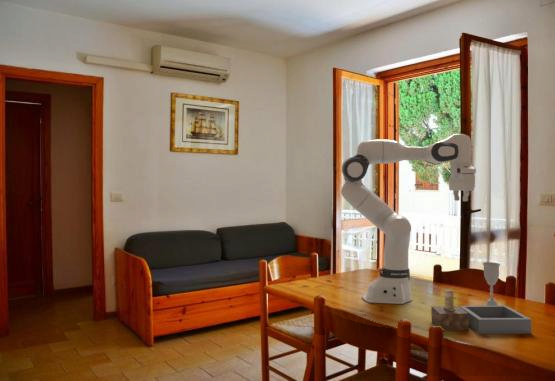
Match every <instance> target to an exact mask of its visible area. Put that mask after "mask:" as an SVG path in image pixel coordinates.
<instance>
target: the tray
mask: <svg viewBox="0 0 555 381" xmlns="http://www.w3.org/2000/svg"><path fill="white" fill-rule="evenodd" d="M458 306H459V307H460V308H461V309H463V310H464V311H466V312H467V313H468V317H469V328H470V329H472V330H473V331H475V332H476V333H478V334H479V335H482V334H483V335H500V334H501V335H503V334H505V335H506V334H507V335H511V334H512V335H513V334H516V335H519V334H520V335H521V334H523V335H524V334H525V335H528V334H529V335H530V334H532V333H533V332H532V331H533V330H532V319H531V318H530V317H528V316H526V315H524V314H523V313H521V312H520V311H519V312H518V311H517V310H515V309H514V308H511V307H509V306H508V305H506V304H505V305H498V306H486V305H458Z"/></svg>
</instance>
